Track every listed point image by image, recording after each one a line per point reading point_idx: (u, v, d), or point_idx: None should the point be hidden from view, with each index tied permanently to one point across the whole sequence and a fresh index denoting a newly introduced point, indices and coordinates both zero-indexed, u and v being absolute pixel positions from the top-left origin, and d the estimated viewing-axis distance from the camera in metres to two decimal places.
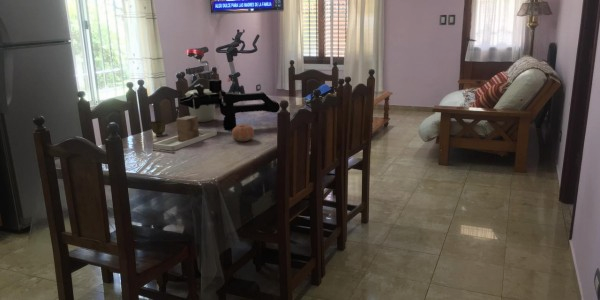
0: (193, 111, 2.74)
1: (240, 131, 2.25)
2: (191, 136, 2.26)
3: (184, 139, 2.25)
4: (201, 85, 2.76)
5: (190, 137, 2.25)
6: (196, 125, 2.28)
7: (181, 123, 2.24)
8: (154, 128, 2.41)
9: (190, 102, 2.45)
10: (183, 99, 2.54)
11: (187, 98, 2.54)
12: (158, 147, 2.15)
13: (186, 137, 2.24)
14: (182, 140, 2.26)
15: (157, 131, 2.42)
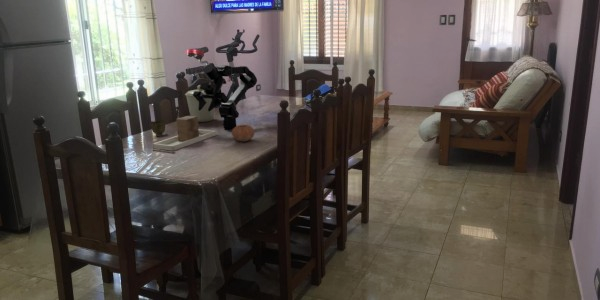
0: (193, 111, 2.74)
1: (240, 131, 2.25)
2: (191, 136, 2.26)
3: (184, 139, 2.25)
4: None
5: (190, 137, 2.25)
6: (196, 125, 2.28)
7: (181, 123, 2.24)
8: (154, 128, 2.41)
9: (214, 102, 2.38)
10: (200, 107, 2.39)
11: (201, 103, 2.40)
12: (158, 147, 2.15)
13: (186, 137, 2.24)
14: (182, 140, 2.26)
15: (157, 131, 2.42)
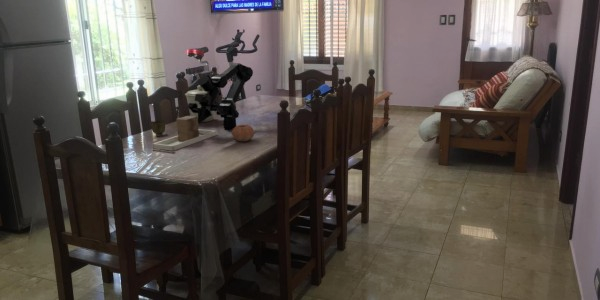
0: None
1: (240, 131, 2.25)
2: (191, 136, 2.26)
3: (184, 139, 2.25)
4: None
5: (190, 137, 2.25)
6: (196, 125, 2.28)
7: (181, 123, 2.24)
8: (154, 128, 2.41)
9: (205, 113, 2.36)
10: None
11: (200, 115, 2.36)
12: (158, 147, 2.15)
13: (186, 137, 2.24)
14: (182, 140, 2.26)
15: (157, 131, 2.42)
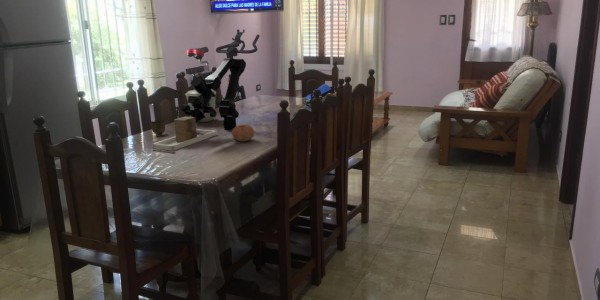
0: None
1: (240, 131, 2.25)
2: (189, 137, 2.25)
3: (182, 140, 2.24)
4: None
5: (188, 138, 2.24)
6: (194, 126, 2.27)
7: (179, 123, 2.22)
8: (154, 128, 2.41)
9: (198, 115, 2.31)
10: None
11: None
12: (158, 147, 2.15)
13: (184, 138, 2.23)
14: (180, 141, 2.25)
15: (157, 131, 2.42)
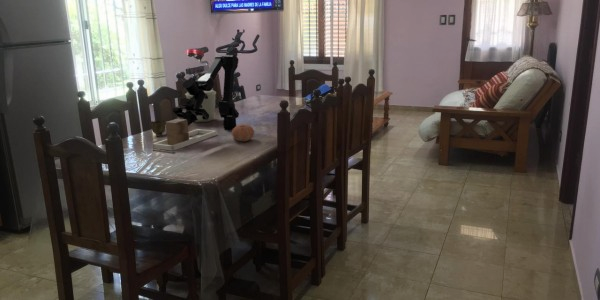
0: None
1: (240, 131, 2.25)
2: (180, 140, 2.20)
3: (173, 143, 2.19)
4: None
5: (180, 141, 2.19)
6: (186, 128, 2.22)
7: (170, 126, 2.17)
8: (154, 128, 2.41)
9: (190, 118, 2.27)
10: None
11: None
12: (158, 147, 2.15)
13: (175, 141, 2.18)
14: (171, 144, 2.20)
15: (157, 131, 2.42)
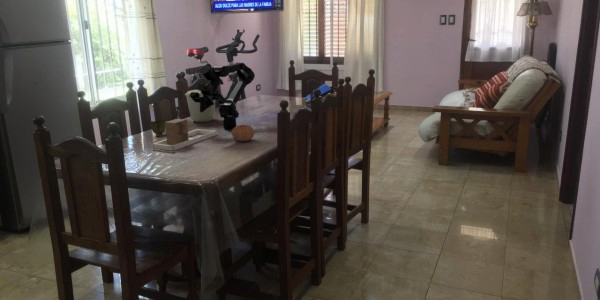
0: (193, 111, 2.74)
1: (240, 131, 2.25)
2: (180, 140, 2.19)
3: (173, 143, 2.19)
4: None
5: (179, 141, 2.19)
6: (185, 128, 2.22)
7: (169, 126, 2.17)
8: (154, 128, 2.41)
9: (207, 102, 2.37)
10: None
11: (202, 104, 2.36)
12: (158, 147, 2.15)
13: (175, 141, 2.18)
14: (171, 144, 2.19)
15: (157, 131, 2.42)
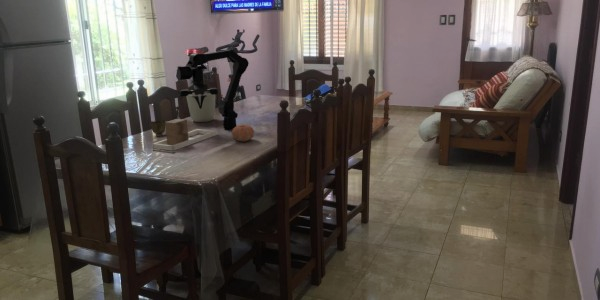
0: (193, 111, 2.74)
1: (240, 131, 2.25)
2: (180, 140, 2.19)
3: (173, 143, 2.19)
4: None
5: (179, 141, 2.19)
6: (185, 128, 2.22)
7: (169, 126, 2.17)
8: (154, 128, 2.41)
9: None
10: None
11: None
12: (158, 147, 2.15)
13: (175, 141, 2.18)
14: (171, 144, 2.19)
15: (157, 131, 2.42)
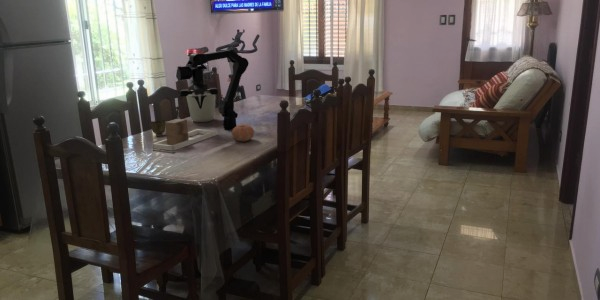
0: (193, 111, 2.74)
1: (240, 131, 2.25)
2: (180, 140, 2.19)
3: (173, 143, 2.19)
4: None
5: (179, 141, 2.19)
6: (185, 128, 2.22)
7: (169, 126, 2.17)
8: (154, 128, 2.41)
9: None
10: None
11: None
12: (158, 147, 2.15)
13: (175, 141, 2.18)
14: (171, 144, 2.19)
15: (157, 131, 2.42)
